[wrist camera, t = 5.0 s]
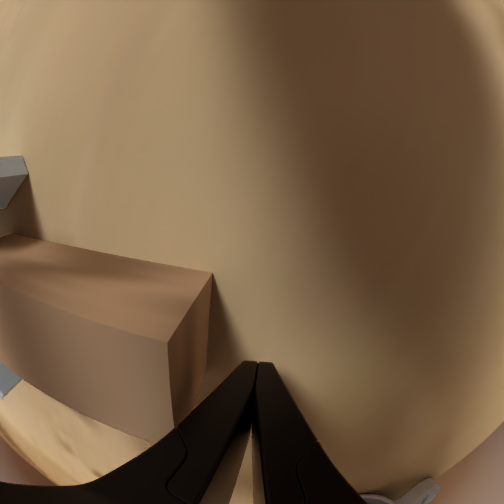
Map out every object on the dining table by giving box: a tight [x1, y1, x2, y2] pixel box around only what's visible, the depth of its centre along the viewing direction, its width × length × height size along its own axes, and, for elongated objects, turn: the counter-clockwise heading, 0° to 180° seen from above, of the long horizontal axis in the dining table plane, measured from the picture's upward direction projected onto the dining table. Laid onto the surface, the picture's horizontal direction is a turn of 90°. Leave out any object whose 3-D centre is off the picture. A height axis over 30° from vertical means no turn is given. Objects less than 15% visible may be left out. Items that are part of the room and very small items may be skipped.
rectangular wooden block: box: [0, 233, 213, 443], centre depth 8 cm, size 10×4×4 cm, turn 83°
